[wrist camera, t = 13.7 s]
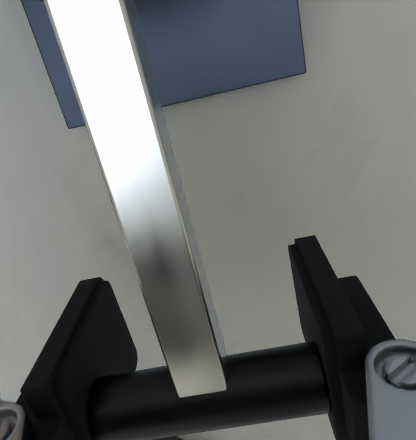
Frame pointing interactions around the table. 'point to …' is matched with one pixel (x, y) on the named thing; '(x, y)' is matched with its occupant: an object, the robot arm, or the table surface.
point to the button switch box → (167, 438)
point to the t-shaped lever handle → (166, 254)
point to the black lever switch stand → (193, 47)
